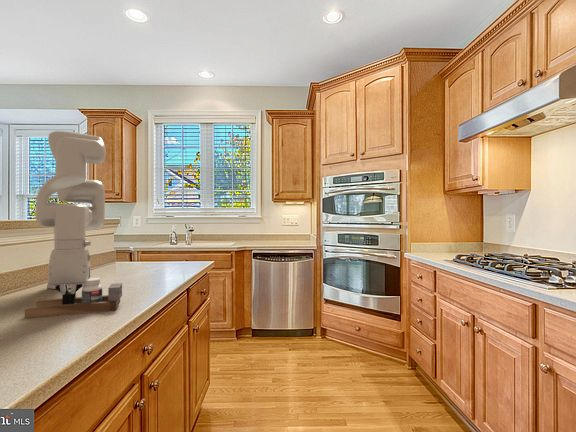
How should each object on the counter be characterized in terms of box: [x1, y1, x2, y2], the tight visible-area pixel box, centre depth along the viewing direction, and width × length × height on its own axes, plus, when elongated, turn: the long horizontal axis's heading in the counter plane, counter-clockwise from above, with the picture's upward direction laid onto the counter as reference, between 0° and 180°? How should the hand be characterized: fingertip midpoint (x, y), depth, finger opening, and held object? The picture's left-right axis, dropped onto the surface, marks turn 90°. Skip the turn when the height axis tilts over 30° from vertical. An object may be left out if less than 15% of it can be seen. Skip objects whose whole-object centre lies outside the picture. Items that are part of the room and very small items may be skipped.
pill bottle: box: [81, 277, 103, 303], centre depth 95 cm, size 5×5×9 cm
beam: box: [24, 282, 123, 319], centre depth 94 cm, size 10×23×6 cm, turn 111°
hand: (68, 306), depth 93 cm, fingers closed
